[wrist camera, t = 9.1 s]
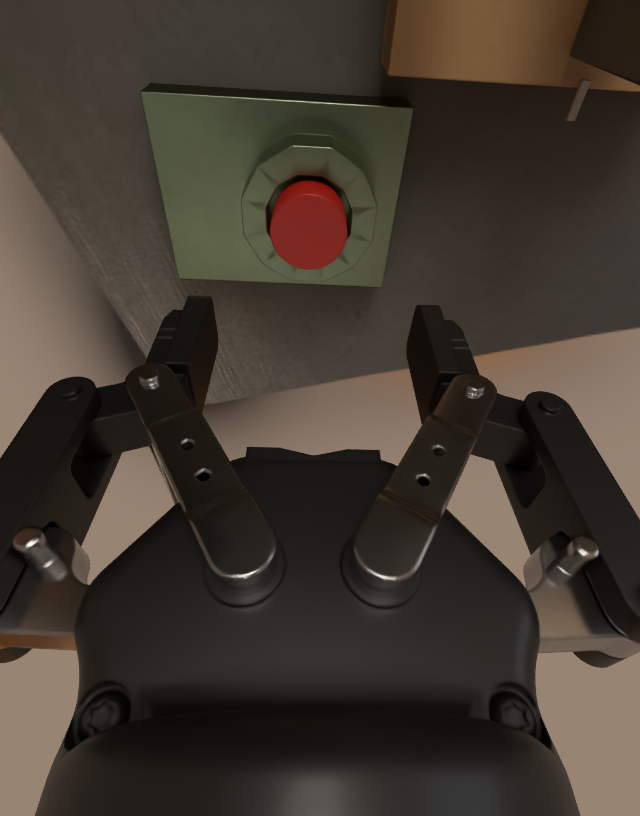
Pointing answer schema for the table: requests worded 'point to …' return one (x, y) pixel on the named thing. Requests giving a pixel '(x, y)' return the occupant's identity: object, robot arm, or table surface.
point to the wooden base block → (492, 44)
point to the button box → (273, 176)
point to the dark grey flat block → (611, 38)
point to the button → (308, 225)
